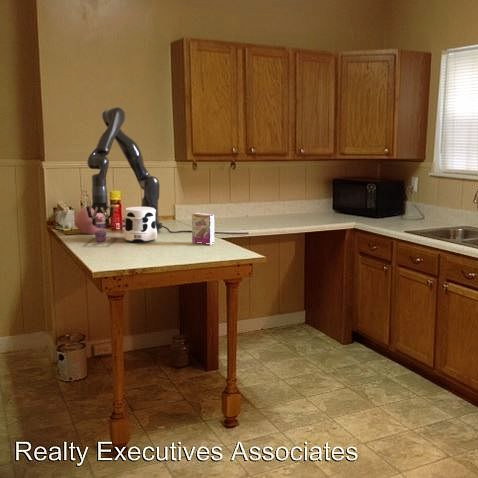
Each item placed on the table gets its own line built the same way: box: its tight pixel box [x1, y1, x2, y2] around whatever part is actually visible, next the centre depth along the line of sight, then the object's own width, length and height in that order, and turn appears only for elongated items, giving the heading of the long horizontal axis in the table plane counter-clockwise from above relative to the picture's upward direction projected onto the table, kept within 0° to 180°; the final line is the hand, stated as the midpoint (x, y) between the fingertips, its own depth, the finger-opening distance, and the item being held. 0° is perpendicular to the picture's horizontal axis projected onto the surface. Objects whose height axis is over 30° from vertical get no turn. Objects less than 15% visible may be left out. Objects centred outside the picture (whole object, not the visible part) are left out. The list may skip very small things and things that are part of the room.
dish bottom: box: [94, 235, 107, 243], centre depth 322 cm, size 6×6×3 cm
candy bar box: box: [191, 212, 215, 246], centre depth 325 cm, size 11×5×16 cm, turn 71°
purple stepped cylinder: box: [94, 230, 107, 237], centre depth 321 cm, size 6×6×3 cm
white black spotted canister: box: [123, 206, 158, 244], centre depth 326 cm, size 17×17×18 cm
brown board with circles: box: [90, 237, 112, 247], centre depth 322 cm, size 12×22×1 cm, turn 5°
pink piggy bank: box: [74, 207, 106, 235], centre depth 340 cm, size 15×20×15 cm
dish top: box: [95, 221, 108, 229], centre depth 320 cm, size 6×6×3 cm
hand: (101, 225), depth 320 cm, fingers closed on dish top, 5 cm apart
